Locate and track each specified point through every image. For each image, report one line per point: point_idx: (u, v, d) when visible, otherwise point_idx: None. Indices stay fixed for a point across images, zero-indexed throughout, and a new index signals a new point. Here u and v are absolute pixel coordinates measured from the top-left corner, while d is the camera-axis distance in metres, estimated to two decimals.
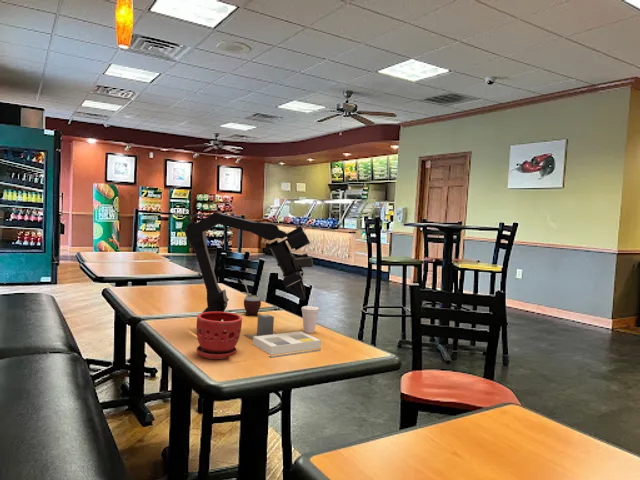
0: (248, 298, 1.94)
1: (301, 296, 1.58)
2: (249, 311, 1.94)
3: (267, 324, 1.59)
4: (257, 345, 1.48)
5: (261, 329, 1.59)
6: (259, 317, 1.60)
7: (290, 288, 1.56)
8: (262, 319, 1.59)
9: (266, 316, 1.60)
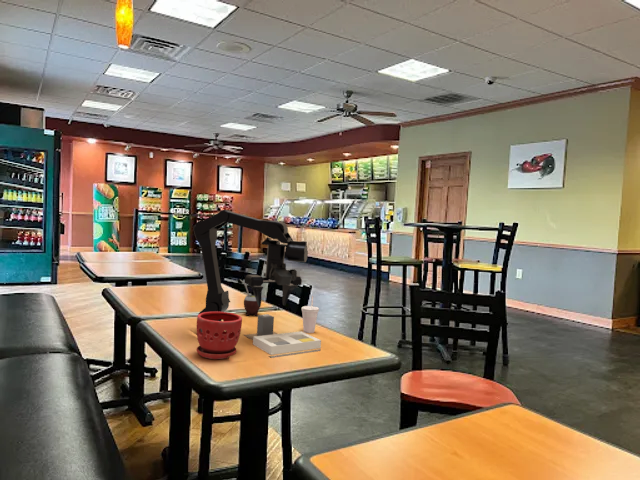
0: (248, 298, 1.94)
1: (257, 301, 1.55)
2: (249, 311, 1.94)
3: (267, 324, 1.59)
4: (257, 345, 1.48)
5: (261, 329, 1.59)
6: (259, 317, 1.60)
7: (252, 287, 1.55)
8: (262, 319, 1.59)
9: (266, 316, 1.60)
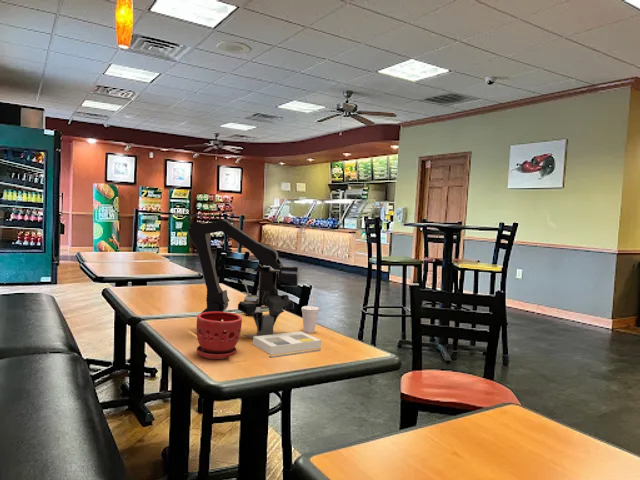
0: (248, 298, 1.94)
1: (257, 326, 1.59)
2: None
3: (267, 324, 1.59)
4: (257, 345, 1.48)
5: (261, 329, 1.59)
6: None
7: (252, 313, 1.60)
8: (262, 319, 1.59)
9: (266, 316, 1.60)
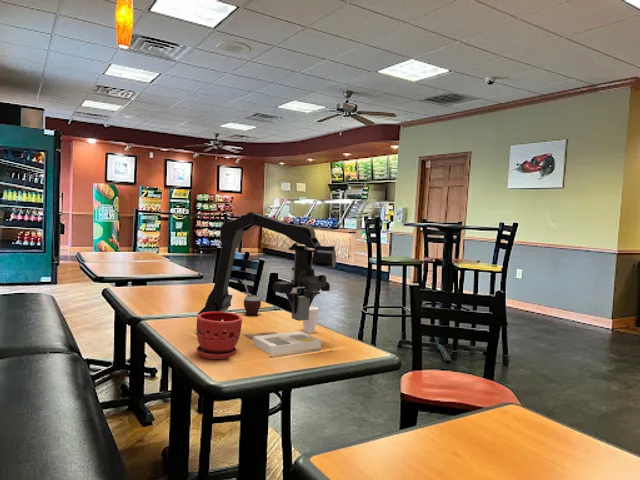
0: (248, 298, 1.94)
1: (292, 308, 1.52)
2: (249, 311, 1.94)
3: (303, 305, 1.51)
4: (257, 345, 1.48)
5: (297, 311, 1.51)
6: None
7: (287, 294, 1.52)
8: (298, 300, 1.51)
9: (302, 297, 1.52)
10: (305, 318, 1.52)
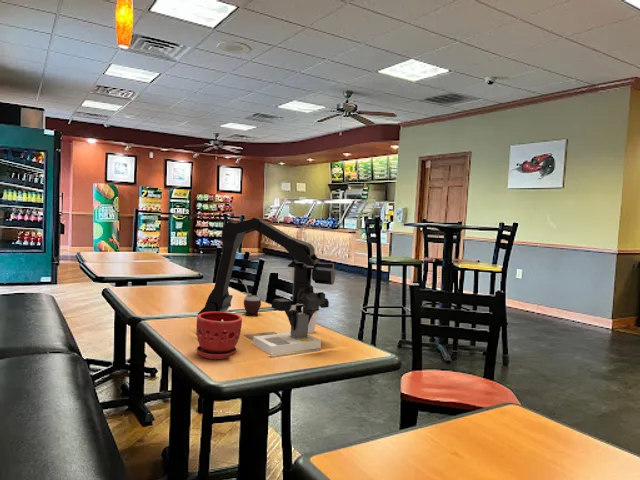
0: (248, 298, 1.94)
1: (291, 325, 1.52)
2: (249, 311, 1.94)
3: (302, 322, 1.51)
4: (257, 345, 1.48)
5: (296, 328, 1.51)
6: None
7: (286, 311, 1.52)
8: (297, 317, 1.51)
9: (301, 314, 1.52)
10: (304, 335, 1.52)
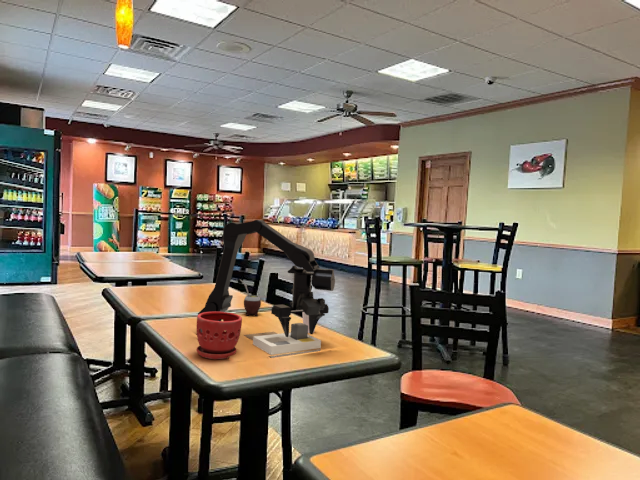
0: (248, 298, 1.94)
1: (285, 332, 1.51)
2: (249, 311, 1.94)
3: (302, 333, 1.52)
4: (257, 345, 1.48)
5: (295, 338, 1.51)
6: (293, 326, 1.53)
7: (279, 318, 1.51)
8: (296, 328, 1.51)
9: (300, 325, 1.52)
10: None
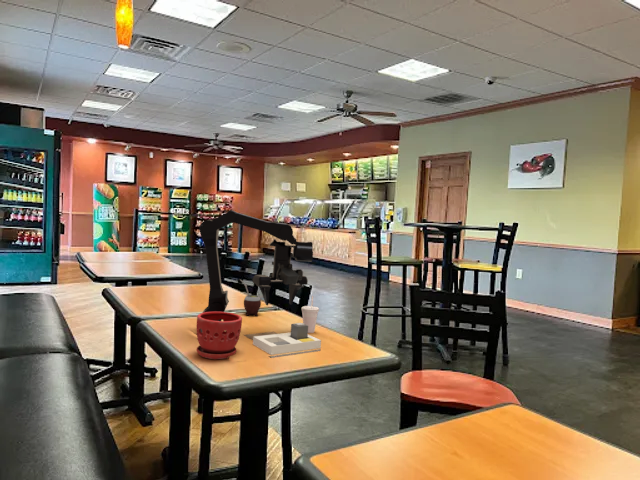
0: (248, 298, 1.94)
1: (265, 300, 1.61)
2: (249, 311, 1.94)
3: (302, 333, 1.52)
4: (257, 345, 1.48)
5: (295, 338, 1.51)
6: (293, 326, 1.53)
7: (260, 287, 1.61)
8: (296, 328, 1.51)
9: (300, 325, 1.52)
10: None
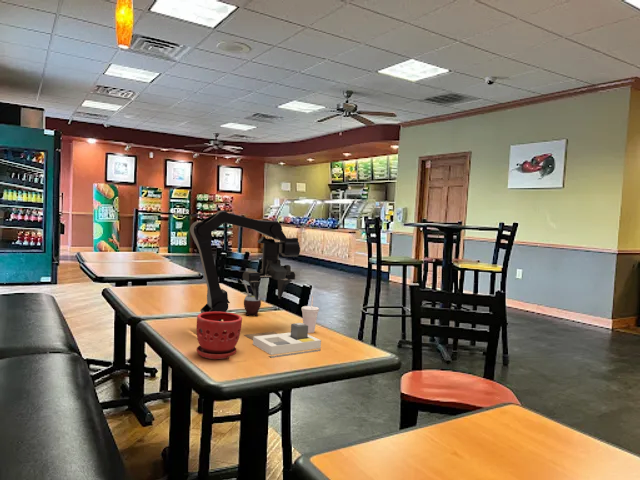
0: (248, 298, 1.94)
1: (255, 295, 1.67)
2: (249, 311, 1.94)
3: (302, 333, 1.52)
4: (257, 345, 1.48)
5: (295, 338, 1.51)
6: (293, 326, 1.53)
7: (250, 283, 1.68)
8: (296, 328, 1.51)
9: (300, 325, 1.52)
10: None
